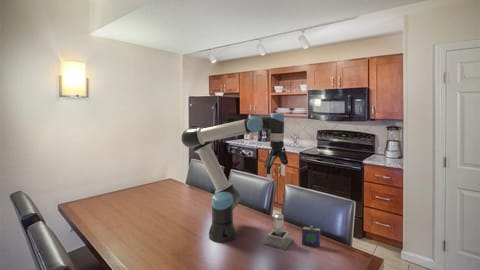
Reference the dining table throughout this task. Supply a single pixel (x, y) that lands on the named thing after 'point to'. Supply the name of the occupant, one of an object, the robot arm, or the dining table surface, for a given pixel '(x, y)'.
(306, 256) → the dining table surface
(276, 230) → the silver canister
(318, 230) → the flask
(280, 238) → the duct collar
